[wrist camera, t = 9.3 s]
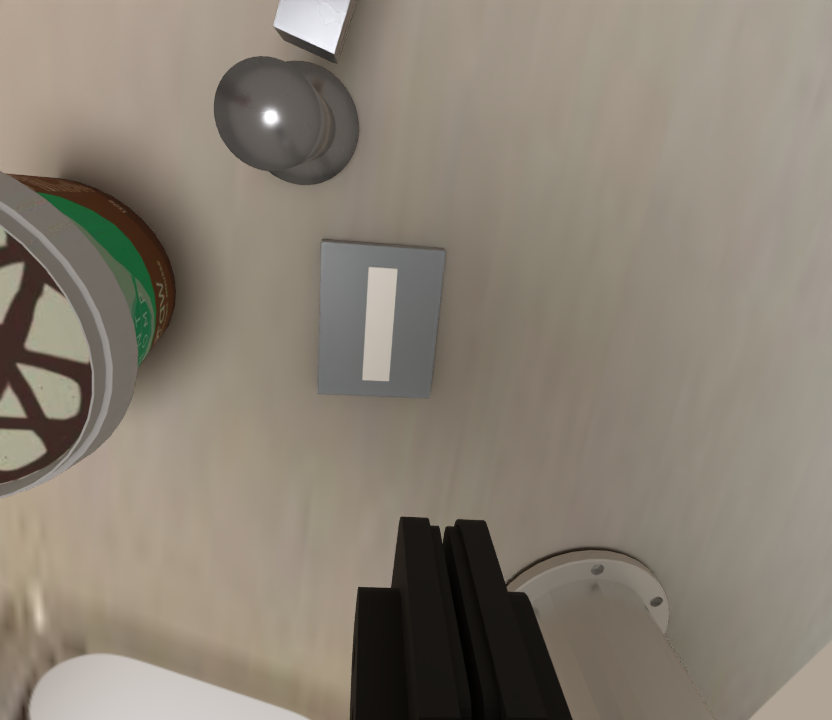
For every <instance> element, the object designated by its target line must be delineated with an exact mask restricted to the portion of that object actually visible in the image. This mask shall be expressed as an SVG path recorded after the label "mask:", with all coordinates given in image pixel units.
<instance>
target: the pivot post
mask: <svg viewBox="0 0 832 720" xmlns="http://www.w3.org/2000/svg"><path fill="white" fill-rule="evenodd" d="M214 116H215V121H216V126H217V128H218V131H219V134H220V136H221V138H222V140H223V141H224V143H225V144H226V146H227V147H228V148H229V150H230V151H231V152H232V153H233V154H234V155H235V156H236V157H237V158H239V159H240V160H241V161H242V162H244V163H246V164H248V165H249V166H252V167H254V168H257V169H260V170H265V171H269V172H270V173H272V174H273V175H275V176H276V177H278V178H280V179H282V180H284V181H287V182H290V183H294V184H300V185H310V184H317V183H321V182H324V181H326V180H328V179H330V178H332V177H333V176H335V175H336V174H338V173H339V172H340V171H341V170H342V169H343V168H344V167H345V166H346V164H347V163H348V162H349V160H350V158H351V157H352V155H353V153H354V150H355V147H356V144H357V139H358V117H357V113H356V109H355V106H354V103H353V100H352V98H351V96H350V94H349V93H348V91H347V90H346V88H345V87H344V85H343V84H342V83H341V82H340V81H339V80H338V79H337V78H336V77H335V76H334V75H333V74H332V73H330V72H329V71H327V70H326V69H324V68H322V67H320V66H318V65H315V64H312V63H309V62H303V61H289V62H284V61H282V60H279V59H276V58H272V57H263V56H259V57H252V58H248V59H245V60H243V61H240V62H239V63H237V64H235V65H234V66H233V67H232V68H230V69H229V70H228V71H227V73H226V74H225V75H224V76H223V78H222V79H221V81H220V83H219V85H218V88H217V91H216V94H215V100H214Z"/></svg>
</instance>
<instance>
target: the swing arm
mask: <svg viewBox="0 0 832 720" xmlns="http://www.w3.org/2000/svg"><path fill="white" fill-rule="evenodd" d="M356 2H357V0H280V3H279V7H278V10H277V14H276V18H275V22H274V26H273V27H274V28H275V29H276V30H277V32H278V33H279V34H280V36H281V37H282V38H283V39H284V41H287V42H289V43H291V44H293V45H296V46H298V47H300V48H302V49H305V50H307V51H309V52H311V53H313V54H316V55H318V56H320V57H322V58H325V59H327V60H329V61H331V62H333V63H336V64H338V61H339V58H340V55H341V51H342V48H343V45H344V41H345V38H346V35H347V32H348V28H349V25H350V22H351V18H352V15H353V12H354V9H355V5H356Z"/></svg>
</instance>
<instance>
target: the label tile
mask: <svg viewBox="0 0 832 720" xmlns="http://www.w3.org/2000/svg"><path fill="white" fill-rule="evenodd" d="M445 255H446V251H445V249H444V248H436V247H422V246H409V245H395V244H382V243H368V242H355V241H342V240H328V239H322V242H321V279H320V322H319V364H318V394H333V395H357V396H382V397H406V398H430V392H431V383H432V373H433V364H434V355H435V346H436V337H437V328H438V319H439V310H440V300H441V291H442V282H443V273H444V264H445Z"/></svg>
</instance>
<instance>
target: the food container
mask: <svg viewBox="0 0 832 720" xmlns="http://www.w3.org/2000/svg"><path fill="white" fill-rule="evenodd" d="M175 294H176V290H175V281H174V275H173V271H172V268H171V264H170V261H169V259H168V257H167V255H166V253H165V250H164V248H163V246H162V245H161V243H160V242H159V240H158V239H157V237H156V236H155V234H154V233H153V232H152V230H151V229H150V228H149V227H148V226H147V225H146V223H145V222H144V221H143V220H142V219H141V218H140V217H139V216H137V215H136V214H135V213H134V212H133V211H132V210H131V209H130V208H128V207H127V206H125V205H124V204H122V203H121V202H119V201H118V200H117V199H115V198H114V197H112V196H110V195H108V194H106V193H104V192H102V191H100V190H98V189H96V188H93V187H90V186H87V185H84V184H81V183H79V182H74V181H69V180H64V179H59V178H49V177H38V176H26V175H15V174H5V173H3V172H1V171H0V498H4V497H8V496H11V495H14V494H16V493H19V492H22V491H26V490H29V489H31V488H33V487H36V486H38V485H40V484H43V483H45V482H47V481H49V480H51V479H53V478H54V477H56V476H57V475H59V474H60V473H62V472H64V471H65V470H67V469H68V468H70V467H71V466H73V465H75V464H76V463H78V462H79V461H81V460H82V459H84V458H85V457H87V456H88V455H90V454H91V453H93V452H94V451H95V450H96V449H97V448H98V447H100V446H101V445H102V444H103V443H104V442H105V441H106V440H107V439H108V438H109V437H110V436H111V434H112V433H113V432H114V430H115V429H116V427H117V426H118V425H119V423H120V422H121V420H122V419H123V417H124V415H125V413H126V411H127V408H128V406H129V404H130V402H131V399H132V396H133V392H134V388H135V383H136V379H137V370H138V367H139V365H140V364H141V363H142V361H143V360H144V359H145V357H146V356H147V354H148V353H149V352H150V350H151V349H152V348H153V346H154V345H155V344H156V342H157V341H158V339H159V338H160V337H161V335H162V334H163V333H164V331H165V330H166V328H167V327H168V326H169V323H170V319H171V316H172V313H173V309H174V306H175Z"/></svg>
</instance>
